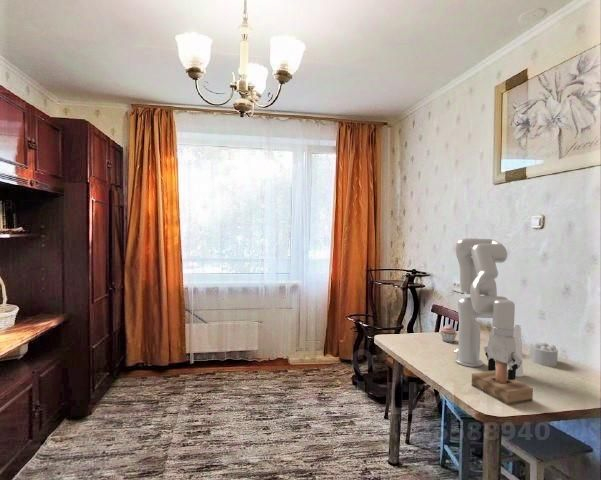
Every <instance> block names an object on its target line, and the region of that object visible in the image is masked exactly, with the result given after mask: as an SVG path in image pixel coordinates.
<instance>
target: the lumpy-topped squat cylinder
mask: <svg viewBox="0 0 601 480" xmlns="http://www.w3.org/2000/svg"><path fill="white" fill-rule="evenodd" d="M529 347H530V348H529V360H530V361H532V362H534V363H535V364H537V365H541V366H544V367H550V368H553V367H554V366H555V367H557V365H558V358H559V357H558V355H559V354H558V352H559V351H558V350H559V349H557V348H556V346H555V345H553V344H548V343H546V342H534V343H530V345H529Z"/></svg>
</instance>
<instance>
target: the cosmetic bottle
mask: <svg viewBox="0 0 601 480" xmlns="http://www.w3.org/2000/svg"><path fill="white" fill-rule="evenodd" d="M521 326H522V325H519V324H514V337H515V343H516V355H517V356H518V357H519V358H520V359H521V360H522V361H523V340H522V328H521ZM515 364H516V361H515ZM511 365H512V363H511ZM523 365H524V364H523V362H522V363H521V365H520V367H519V368H518V369H517V370H516V378H517V377H519V378H520V377H524V376H525V373H524V366H523ZM512 366H513V365H512Z"/></svg>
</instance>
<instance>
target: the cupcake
mask: <svg viewBox="0 0 601 480" xmlns="http://www.w3.org/2000/svg"><path fill="white" fill-rule="evenodd" d="M439 333H440V336H441V340H442V341H443V342H444V343H454V342H455V340H456V337H457V335H458V333H457V332H456V329H455V328H454V327H453V326H452V324H449V323H447V324H446V325H444V326H443V327H442V328H441V330H440V331H439Z"/></svg>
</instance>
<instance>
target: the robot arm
mask: <svg viewBox="0 0 601 480" xmlns="http://www.w3.org/2000/svg"><path fill="white" fill-rule="evenodd" d="M455 254H456V255H455V256H456V259H457V262H458V265H459V284H460V290H461V293H463V294H465V295H469V296H470V297H469V296H467V297H462V298H460V299H459V300H458V301H457V313H458V347H457V348H456V350H454V351H453V353H454V354H456V356H455V357H454V362H455V363H457V365H458V364H459V365H461V366H465V367H471V368H472V367H473V368H474V367H476V368H478V367H482V366H483V365H484V361H483V360H481V359H480V354H481V353H480V352H481V326H480V323H478V321H477V320H476V319H479V318H480V319H492V323H491V324H492V325H491V332H490V333H489V334H490V337H489V342H488V341H487V346H484V347H483V349H484V354H485V356H486V360H487V361H488V362H487V371H488V372H490V371H496V360H497V361H500V362H502V363H505V364H506V363H507V377H508V380H516V378H517V376H516V370H517V369H518V368H519V367H520V365H521V363H522V364H523V359H522V360H521V359H520V358H519V357H518V356H517V355H516V343H515V337H514V327H515V313H516V311H515V310H516V309H515V307H516V305H515V304H516V303H514V301H512V300H510V299H508V298H507V297H506V296H501V295H500V296H498V294H497V291H498V289H497V282H496V280H495V279H497V278H498V275H499V272H498V268H497V265H496V264H497V263H499V264H500V263H502V264H503V263H504V262H506V260H507V258H508V252H507V248H506V247H505V245H503V244H502V243H501V242H499V241H498V240H496V239H492V238H472V237H471V238H462V239H459V240H458V241H457V242H456V245H455ZM515 361H516V364H515ZM511 363H512V365H513V366H512V365H511Z"/></svg>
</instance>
